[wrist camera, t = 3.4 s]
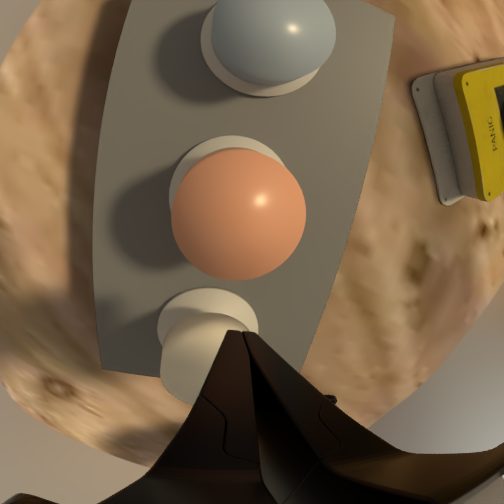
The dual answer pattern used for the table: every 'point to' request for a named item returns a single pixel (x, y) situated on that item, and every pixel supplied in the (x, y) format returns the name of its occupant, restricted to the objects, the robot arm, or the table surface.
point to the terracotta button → (238, 214)
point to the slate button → (272, 38)
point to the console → (211, 139)
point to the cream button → (193, 352)
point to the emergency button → (464, 128)
